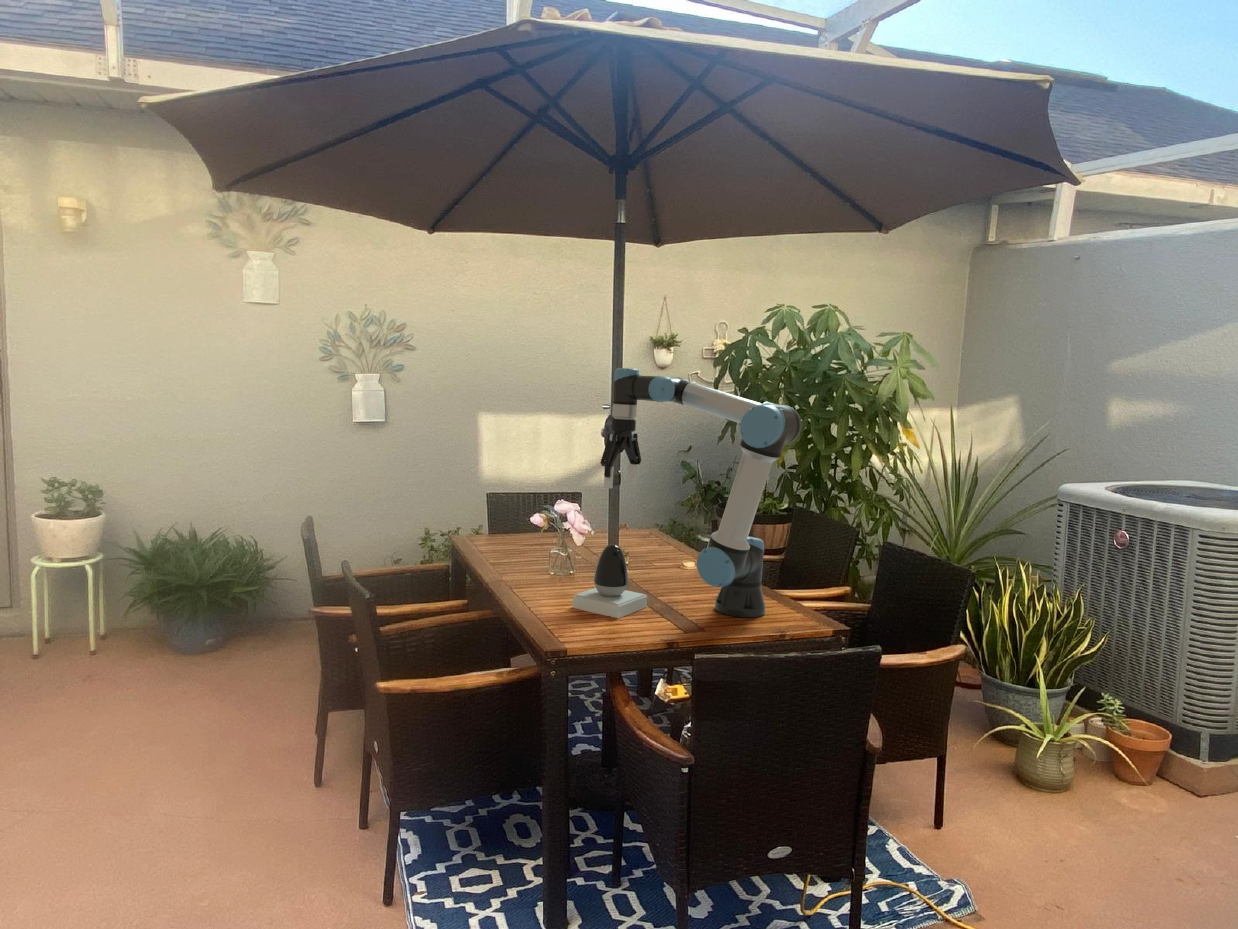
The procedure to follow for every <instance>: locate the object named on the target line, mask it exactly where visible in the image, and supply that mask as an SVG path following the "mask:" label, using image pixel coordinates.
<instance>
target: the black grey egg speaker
mask: <svg viewBox="0 0 1238 929" xmlns="http://www.w3.org/2000/svg"><path fill="white" fill-rule="evenodd" d="M626 561H627V560H626V557H625V554H624V552H623V550H622V548H621V546H619V545H618V544H615V543H612V544H608V545H606V546H605V547H604V549H603V550H602V552H601V554H600V556H599V558H598V560H597V564H596V566H595V567H596V568H595V572H594V576H593V583H594V586H595V587H594V588H596V589H597V591H598V592H599V593H600V594H602V595H604V596H609V597H615V596H619V595H621V594H622V593H623V592H624V591H625V590H627V586H628V585H629V573H628V572H629V571H628V567H627V562H626Z"/></svg>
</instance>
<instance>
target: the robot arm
mask: <svg viewBox="0 0 1238 929" xmlns="http://www.w3.org/2000/svg"><path fill="white" fill-rule="evenodd" d="M612 399H613V400H612V411H611V412H612V414H611V415H612V417H613V418H611V423H610V424H611V426H610V428H611V429H610V430H612V431H614V432H613V433H611V434H610V433H609V434H607V440H606V444H605V447H604V450H603V452H602V456H601V459H600V465H601V466H602V467H604V471H603V472H604V473H603V476H604V477H603V488H605V489H613V486H614V484H613V483H614V470H615V469H614V468H615V467H614V466H613V465H614V463H615V461H616V459H617V457H618V455H619V453H620V451H621V450H622V449H624V451H625V453H626V456H627V459H628V462H629V463H628V464H627V466H628V467H627V479H626V482H627V483H626V485H631V486H636V485H637V483H636V481H637V469H638V465H640V464H641V462H642V455H641V451H640V447H639V446H640V445H639V441H638V433H633V432H636V425H637V422H636V421H637V420H636V418H637V413H638V411H637V410H638V409H637V407H638V406H637V405H638V401H648V402H655V403H665V402H670V403H671V402H672V403H676V404H679V405H682V406H686V407H690V408H692V409H695V410H698V411H702V412H704V413H708V414H711V415H713V416H716V417H718V418H719V417H720V418H722V419H725V420H729V421H732V422H734V423H738V424H739V433H740V436H741V441H740V443H739V447H740V449H741V451H742V455H741V458H740V460H739V465H738V468H737V471H736V474H735V477H734V480H733V483H732V486H731V490H730V493H729V496H728V499H727V502H726V505H725V508H724V511H723V514H722V518H721V521H720V524H719V527H718V529H717V530H716V531H714V532H712V533H711V535H710V537H709V540H708V543H707V546H706V547H705V548H703V549H702V550H701V551H700V552H699V553H698V556H697V558H696V570H697V572H698V574H699V576H700V578H701V580H703V582H705V583H706V584H707V585H709V586H711V587H714V588H720V589H719V592H718V594H717V595H716V599H715V603H714V610H716V612H718V613H721V614H723V615H726V616H731V617H738V618H757V617H762V616H764V615H765V613H766V602H765V599H764V596H763V590H762V579H763V578H762V577H763V569H764V568H763V567H764V557H765V556H764V554H765V543H764V540H763V539H761V538H758V537H755V536H754V537H753V536H749V534H750V532H751V530H752V529H751V528H752V526H753V523H754V520H755V516H756V513H757V511H758V507H759V504H760V502H761V499H762V495H763V493H764V489H765V486H766V483H767V480H768V477H769V474H770V471H771V468H772V465H773V463H774V462H775V461H777V460H780V459H781V457H782V456H781V455H782V453H783V450H784V447H785V446H786V445H789V444H791V443H793V442H795V440H796V439H797V438H798V437H799V436H800V433H801V432H802V420H801V416H800V414H799V413H798V411H797V410H796V409H794V408H793V407H791V406H789V405H787V404H778V403H773V402H770V401H765V402H763V403H761V402H758V401H755V400H752V399H748V398H744V397H741V396H737V395H734V394H733V393H732V394H731V393H729V392H724V391H721V390H719V389H715V388H711V387H709V386H706V385H702V384H699V383H695V382H692V381H689V380H688V379H686V378H683V377H670V376H669V377H668V376H663V375H640V371H639V369H638V368H630V367H629V368H627V367H625V368H624V367H618V368H615V371H614V379H613V396H612Z"/></svg>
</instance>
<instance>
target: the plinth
mask: <svg viewBox="0 0 1238 929" xmlns="http://www.w3.org/2000/svg"><path fill="white" fill-rule="evenodd" d="M647 604H648V595H647V594H645V593H641V592H636V591H631V590H627V589H625V591H624V592H623V593H622V594H621V595H619V596H615V597H609V596H604V595H602V594H600V593H599V592H598V591H597V589H596V587H594V588H591V589H589V590H585V591H582V592H578V593H575V594H574V595H573V596H572V609H576V610H580V611H584V612H589V613H593V614H596V615H602V616H607V617H609V616H610V618H615V619H620V618H623V617H626V616H628V615H631V614H634V613H635V612H638V611H641V610H644V609H646V608H647V607H648V606H647Z"/></svg>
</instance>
